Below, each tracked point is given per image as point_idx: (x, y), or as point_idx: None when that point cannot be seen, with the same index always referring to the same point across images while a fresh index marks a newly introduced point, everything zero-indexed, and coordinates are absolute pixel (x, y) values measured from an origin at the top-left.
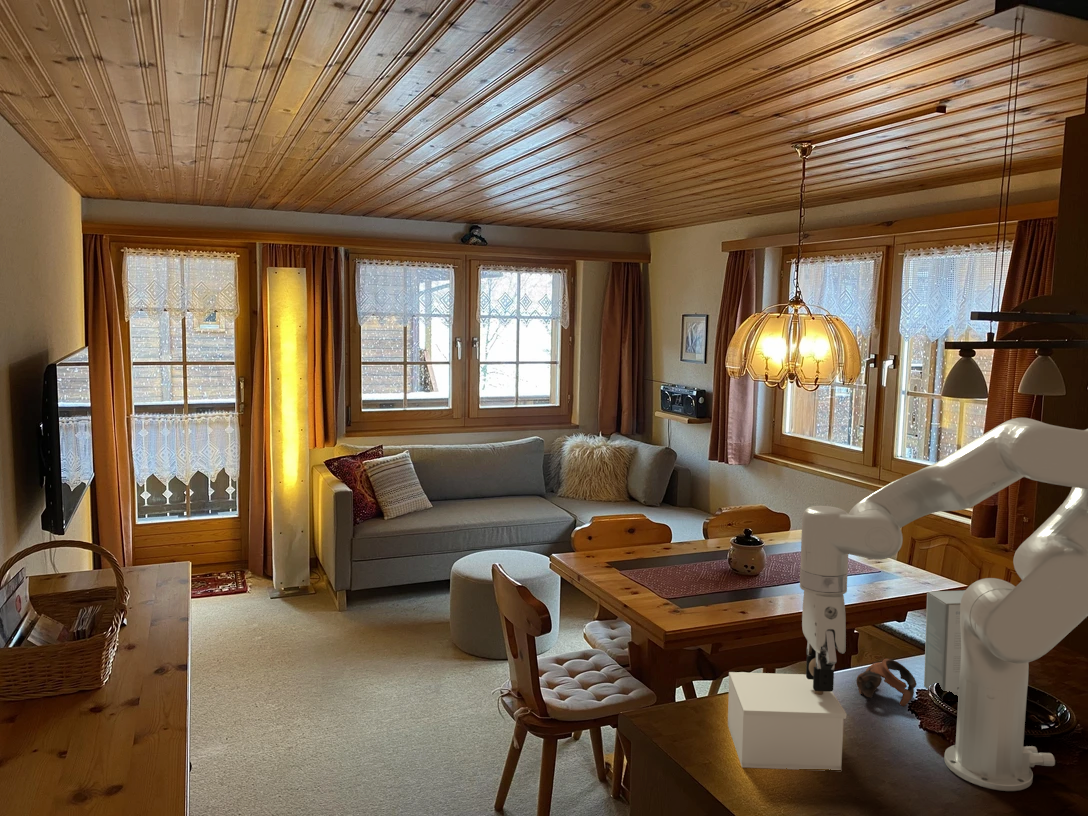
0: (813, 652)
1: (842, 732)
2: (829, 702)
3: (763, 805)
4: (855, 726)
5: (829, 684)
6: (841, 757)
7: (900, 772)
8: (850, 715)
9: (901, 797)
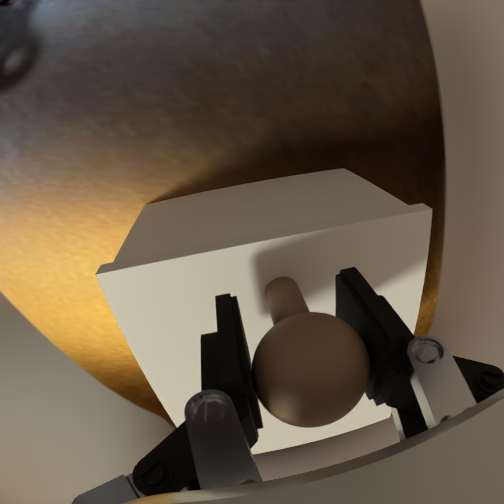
0: (250, 444)
1: (392, 196)
2: (358, 258)
3: (433, 299)
4: (106, 108)
5: (387, 301)
6: (358, 176)
7: (323, 36)
8: (53, 122)
9: (413, 71)
